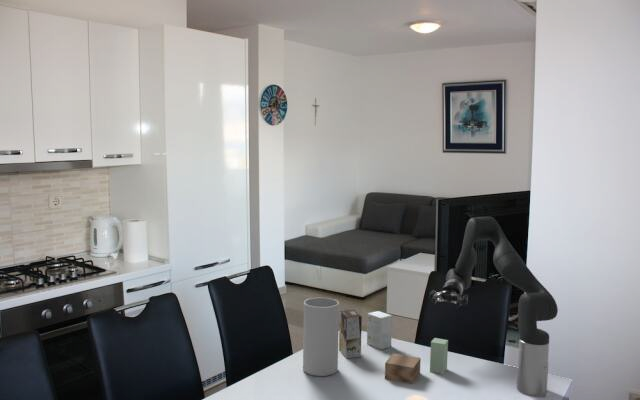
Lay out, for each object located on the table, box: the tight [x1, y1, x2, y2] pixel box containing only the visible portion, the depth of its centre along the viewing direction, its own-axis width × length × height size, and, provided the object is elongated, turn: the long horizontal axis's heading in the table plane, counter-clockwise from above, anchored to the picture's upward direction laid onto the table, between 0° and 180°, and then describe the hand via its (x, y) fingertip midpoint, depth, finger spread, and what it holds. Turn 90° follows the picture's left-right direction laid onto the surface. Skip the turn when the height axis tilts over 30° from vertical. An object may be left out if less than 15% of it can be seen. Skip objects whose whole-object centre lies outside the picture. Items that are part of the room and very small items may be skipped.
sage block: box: [429, 337, 449, 375], centre depth 203 cm, size 5×5×11 cm
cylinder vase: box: [302, 297, 340, 377], centre depth 201 cm, size 12×12×25 cm
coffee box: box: [338, 309, 363, 359], centre depth 218 cm, size 9×6×16 cm
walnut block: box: [384, 352, 422, 385], centre depth 198 cm, size 10×10×6 cm
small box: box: [366, 310, 393, 350], centre depth 228 cm, size 8×6×13 cm
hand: (445, 303), depth 210 cm, fingers open, 8 cm apart
